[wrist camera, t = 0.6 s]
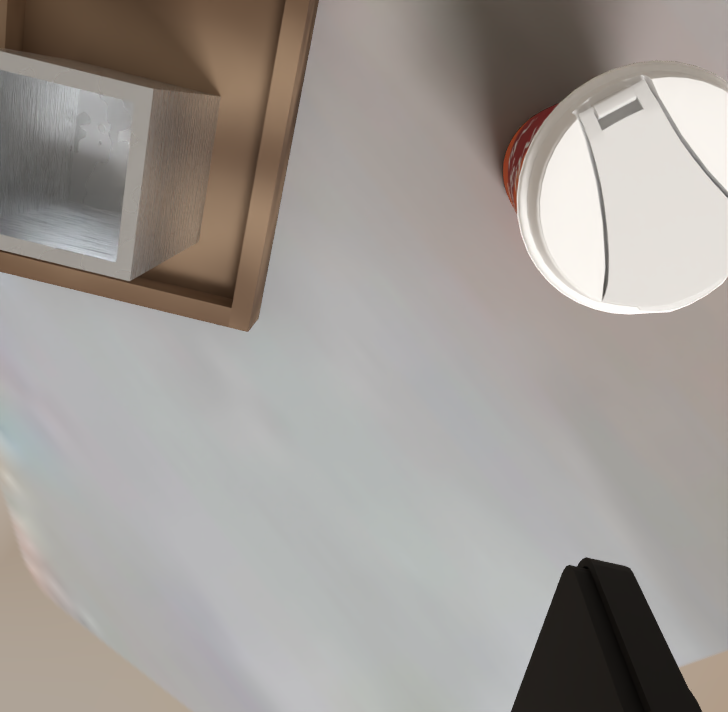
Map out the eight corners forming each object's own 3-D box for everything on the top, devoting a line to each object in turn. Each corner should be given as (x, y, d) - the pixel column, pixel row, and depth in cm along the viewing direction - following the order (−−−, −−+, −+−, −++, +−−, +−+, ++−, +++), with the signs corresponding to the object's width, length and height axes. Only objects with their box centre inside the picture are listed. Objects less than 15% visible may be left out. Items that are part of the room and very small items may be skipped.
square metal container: (75, 60, 33) (-45, 40, 24) (220, 96, 33) (153, 89, 24) (62, 208, 35) (-51, 237, 26) (198, 241, 35) (129, 281, 26)
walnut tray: (24, -135, 31) (-9, -156, 29) (329, -58, 31) (323, -73, 29) (1, 255, 37) (-28, 264, 35) (258, 318, 37) (247, 331, 35)
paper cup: (453, 133, 34) (479, 143, 20) (605, 49, 32) (741, 1, 19) (521, 275, 35) (585, 369, 22) (668, 203, 34) (831, 257, 21)
